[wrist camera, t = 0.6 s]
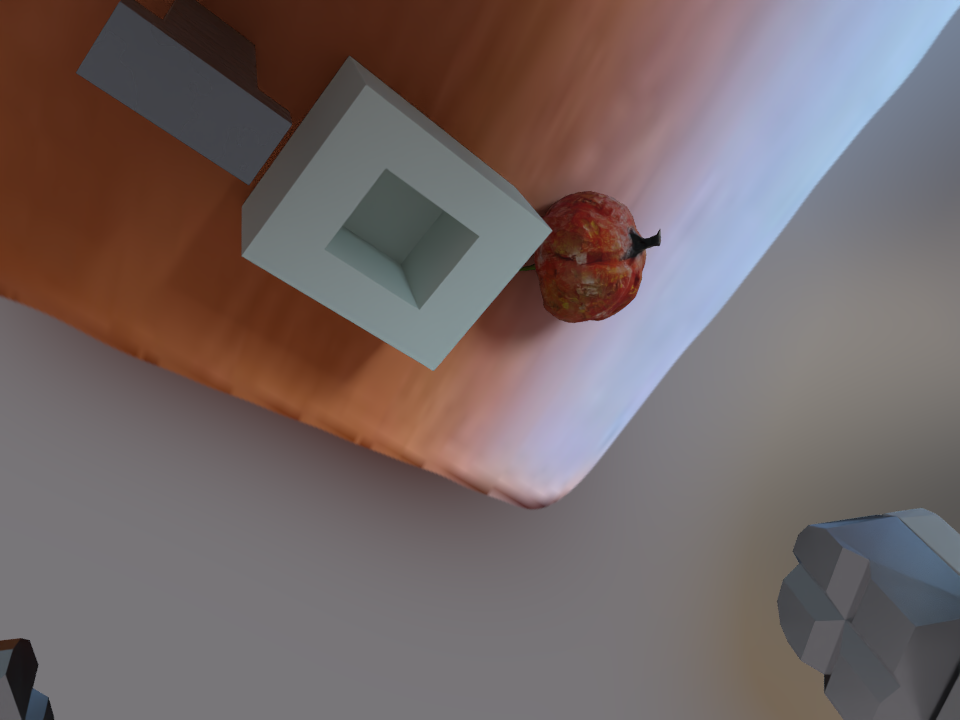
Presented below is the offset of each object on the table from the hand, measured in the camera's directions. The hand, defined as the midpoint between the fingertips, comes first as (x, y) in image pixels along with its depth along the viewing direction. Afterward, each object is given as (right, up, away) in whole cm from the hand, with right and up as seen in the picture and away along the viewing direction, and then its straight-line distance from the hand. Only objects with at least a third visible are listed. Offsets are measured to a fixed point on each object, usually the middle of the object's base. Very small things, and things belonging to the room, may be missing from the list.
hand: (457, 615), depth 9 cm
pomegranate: (+5, +10, +42) cm, 44 cm away
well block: (-5, +12, +38) cm, 40 cm away
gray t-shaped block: (-13, +18, +31) cm, 39 cm away
